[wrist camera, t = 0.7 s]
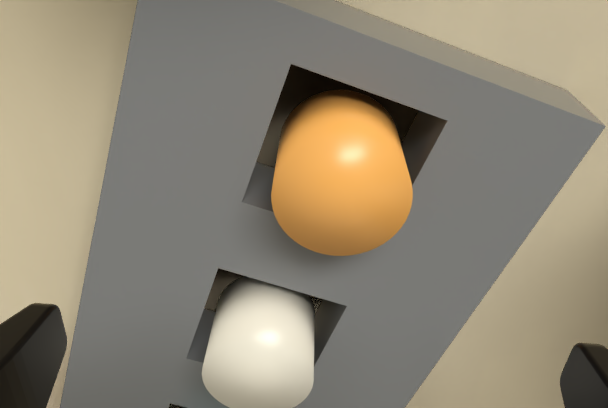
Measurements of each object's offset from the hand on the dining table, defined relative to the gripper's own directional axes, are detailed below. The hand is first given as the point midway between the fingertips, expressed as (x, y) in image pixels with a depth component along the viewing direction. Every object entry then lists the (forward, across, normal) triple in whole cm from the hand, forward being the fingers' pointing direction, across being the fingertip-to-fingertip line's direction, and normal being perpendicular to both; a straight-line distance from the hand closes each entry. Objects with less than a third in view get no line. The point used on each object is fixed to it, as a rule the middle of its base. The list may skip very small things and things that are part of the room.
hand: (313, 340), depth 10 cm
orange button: (+10, -1, +1) cm, 10 cm away
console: (+12, +2, +9) cm, 15 cm away
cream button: (+10, +2, +9) cm, 13 cm away
